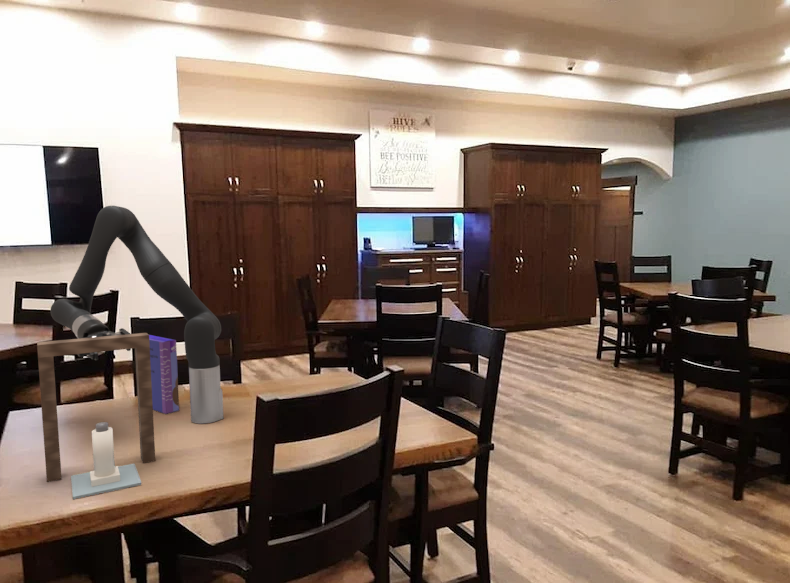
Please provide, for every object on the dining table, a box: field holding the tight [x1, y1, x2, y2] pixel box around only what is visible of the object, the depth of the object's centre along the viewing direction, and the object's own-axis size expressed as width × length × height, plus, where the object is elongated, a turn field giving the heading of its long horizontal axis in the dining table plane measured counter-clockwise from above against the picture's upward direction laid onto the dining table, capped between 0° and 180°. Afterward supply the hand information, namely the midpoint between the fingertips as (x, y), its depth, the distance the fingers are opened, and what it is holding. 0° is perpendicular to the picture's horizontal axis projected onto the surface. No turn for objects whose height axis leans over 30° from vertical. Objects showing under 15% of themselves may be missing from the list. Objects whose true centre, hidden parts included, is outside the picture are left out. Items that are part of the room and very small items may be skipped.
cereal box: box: [149, 334, 180, 415], centre depth 191 cm, size 17×5×24 cm, turn 52°
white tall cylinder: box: [89, 421, 120, 487], centre depth 134 cm, size 6×6×14 cm
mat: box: [70, 463, 142, 500], centre depth 135 cm, size 14×13×1 cm
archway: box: [36, 332, 156, 483], centre depth 141 cm, size 24×4×33 cm, turn 121°
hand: (113, 352), depth 155 cm, fingers open, 8 cm apart
